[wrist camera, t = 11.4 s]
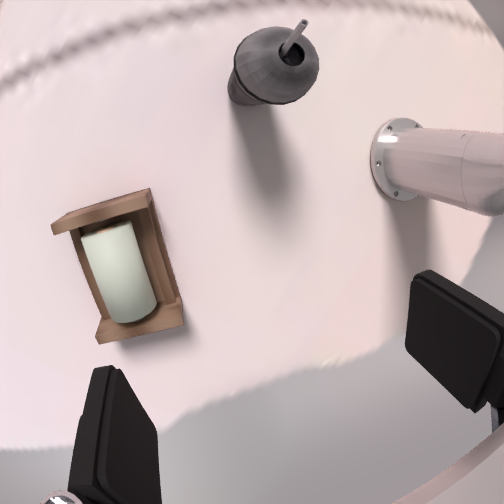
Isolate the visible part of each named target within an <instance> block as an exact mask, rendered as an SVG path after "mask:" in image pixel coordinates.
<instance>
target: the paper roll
mask: <svg viewBox="0 0 504 504" xmlns="http://www.w3.org/2000/svg"><path fill="white" fill-rule="evenodd" d="M81 241H82V244H83V247H84V250H85V253H86V255H87V258H88V261H89V264H90V267H91V269H92V272H93V275H94V277H95V280H96V283H97V285H98V288H99V290H100V293H101V295H102V298H103V300H104V303H105V305H106V307H107V310H108V312H109V314H110V317H111V319H112V320H113V321H114V322H117V323H128V322H132V321H136V320H138V319H141V318H143V317H144V316H146V315H148V314H149V313H150V312H152V311H153V309H154V308H155V307H156V304H157V301H156V298H155V295H154V292H153V289H152V287H151V284H150V281H149V278H148V275H147V272H146V269H145V266H144V263H143V259H142V256H141V253H140V250H139V247H138V243H137V240H136V237H135V233H134V230H133V226H132V223H131V221H130V220H122V221H117V222H113V223H110V224H107V225H104V226H101V227H99V228H96V229H94V230H92V231H90V232H88V233H86V234H85V235H84V236H82V237H81Z"/></svg>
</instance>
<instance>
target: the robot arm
mask: <svg viewBox="0 0 504 504" xmlns="http://www.w3.org/2000/svg"><path fill="white" fill-rule="evenodd" d="M371 168H372V172H373V176H374V178H375V181H376V183H377V184H378V186H379V188H380V189H381V190H382V191H383V192H384V193H385V194H386V195H388V196H389V197H391V198H393V199H396V200H400V201H409V200H412V199H414V198H416V197H418V196H419V195H420V196H424V197H427V198H431V199H434V200H437V201H441V202H444V203H447V204H450V205H454V206H457V207H460V208H463V209H466V210H469V211H472V212H475V213H478V214H481V215H484V216H490V217H495V216H500V215H503V214H504V134H502V133H490V132H479V131H467V130H452V129H430V128H423V127H422V126H421V125H420V124H419V123H417V122H416V121H414V120H412V119H409V118H394V119H391V120H389V121H387V122H386V123H384V124H383V125H382V126H381V127H380V129H379V130H378V132H377V133H376V135H375V138H374V140H373V143H372V148H371ZM405 347H406V350H407V352H408V353H409V354H410V355H411V356H412V357H413V358H414V359H416V360H417V361H418V362H419V363H420V364H421V365H422V366H423V367H424V368H425V369H426V370H427V371H428V372H429V373H430V374H431V375H432V376H433V377H434V378H435V379H436V380H437V381H438V382H439V383H440V384H442V386H444V387H445V388H446V389H447V390H448V391H449V392H450V393H451V394H452V395H453V396H454V397H455V398H456V399H457V400H458V401H459V402H460V403H461V404H462V405H463V406H464V407H465V408H467V409H468V408H470V409H471V410H472V411H473V412H474V413H476V412H477V411H479V410H480V409H481V408H482V407H484V406H485V404H486V402H487V401H488V402H489V403H490V404H491V418H492V434H491V435H490V436H488V437H487V438H486V439H485V440H484V441H482V442H481V443H480V444H479V445H478V446H476V447H475V448H474V449H473V450H471V451H470V452H469V453H468V454H466V455H465V456H464V457H462V458H461V459H460V460H458V461H457V462H456V463H454V464H453V465H452V466H451V467H449V468H448V469H446V470H445V471H443V472H442V473H440V474H439V475H437V476H436V477H435V478H433V479H432V480H430V481H428V482H427V483H425V484H424V485H422V486H420V487H419V488H417V489H416V490H414V491H412V492H411V493H409V494H408V495H405V496H404V497H402V498H400V499H398V500H397V501H395V502H393V503H391V504H504V313H502V312H500V311H499V310H497V309H496V308H494V307H493V306H491V305H489V304H488V303H486V302H485V301H483V300H481V299H480V298H478V297H476V296H475V295H473V294H472V293H470V292H468V291H466V290H465V289H463V288H462V287H460V286H458V285H456V284H455V283H453V282H451V281H450V280H448V279H446V278H444V277H443V276H441V275H439V274H437V273H436V272H434V271H432V270H426V271H423V272H421V273H418V274H416V275H415V276H414V278H413V281H412V282H411V285H410V299H409V311H408V321H407V330H406V338H405ZM40 504H162V499H161V487H160V474H159V458H158V438H157V431H156V428H155V426H154V424H153V422H152V421H151V419H150V418H149V416H148V415H147V413H146V411H145V410H144V408H143V407H142V405H141V403H140V402H139V400H138V398H137V397H136V395H135V393H134V391H133V390H132V388H131V386H130V384H129V383H128V381H127V379H126V377H125V375H124V374H123V372H122V370H121V369H116V368H115V367H114V366H113V365H109V366H104V367H98V368H95V369H94V370H93V372H92V376H91V380H90V384H89V388H88V393H87V397H86V401H85V406H84V410H83V415H82V416H81V417H80V420H79V424H78V429H77V434H76V439H75V445H74V450H73V456H72V462H71V469H70V475H69V483H68V491H61V490H60V491H54V492H52V493H50V494H48V495H46V496H45V497H44V498H43V499H42V501H41V502H40Z"/></svg>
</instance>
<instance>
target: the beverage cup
mask: <svg viewBox="0 0 504 504" xmlns="http://www.w3.org/2000/svg"><path fill="white" fill-rule="evenodd" d="M307 25H308V21H307V20H305V19H303V20H301V21H300V23H299V24H298V25H297V27H296V28H295V30H292V29H290V28H286V27H269V28H264V29H261V30H259V31H256V32H254V33H253V34H251V35H249V36H247V37H246V38H245V39H244V40H243V41H242V42H241V43H240V44H239V46H238V47H237V50H236V52H235V55H234V68H233V71H232V73H231V76H230V78H229V81H228V93H229V96H230V97H231V99H232V100H233V101H234V102H236V103H237V104H240V105H243V106H254V105H259V104H265V103H268V104H276V105H284V104H288V103H291V102H295V101H296V100H298V99H299V98H301V97H302V96H304V95H305V94H306V92H308V91H309V89H310V88H311V87H312V85H313V84H314V82H315V81H316V78H317V74H318V71H319V58H318V55H317V53H316V50H315V47H314V46H313V45H312V43H311V42H310V41H309V40H308V39H307V38H306V37H305V36H303V35H302V34H301V33H302V32H303V30H304V29H305V28H306V27H307Z"/></svg>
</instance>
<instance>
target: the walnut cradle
mask: <svg viewBox="0 0 504 504" xmlns="http://www.w3.org/2000/svg"><path fill="white" fill-rule="evenodd" d="M122 220H130V221H131V223H132V226H133V230H134V233H135V237H136V240H137V243H138V247H139V250H140V253H141V256H142V259H143V263H144V266H145V269H146V272H147V275H148V278H149V281H150V284H151V287H152V289H153V292H154V295H155V298H156V301H157V304H156V307H155V308H154V309H153V311H152V312H150V313H149V314H148V315H146V316H144V317H143V318H141V319H138V320H136V321H132V322H128V323H117V322H114V321H113V320H112V319H111V317H110V314H109V312H108V310H107V307H106V305H105V303H104V300H103V298H102V295H101V293H100V290H99V288H98V285H97V283H96V280H95V277H94V275H93V272H92V269H91V267H90V264H89V261H88V258H87V255H86V253H85V250H84V247H83V244H82V241H81V237H82V236H84V235H85V234H86V233H88V232H90V231H92V230H94V229H96V228H99V227H101V226H104V225H107V224H110V223H113V222H117V221H122ZM51 228H52V231H53V234H54V235H57V234H60V233H63V232H66V231H70V234H71V237H72V241H73V244H74V247H75V249H76V252H77V255H78V258H79V261H80V264H81V266H82V269H83V272H84V274H85V277H86V280H87V282H88V285H89V287H90V290H91V292H92V295H93V297H94V299H95V302H96V304H97V307H98V309H99V311H100V314H101V316H102V317H101V320H100V323H99V326H98V329H97V332H96V335H95V338H96V340H97V342H98V344H104V343H108V342H113V341H117V340H122V339H126V338H131V337H135V336H140V335H144V334H148V333H152V332H157V331H161V330H165V329H169V328H173V327H177V326H181V325H184V321H183V309H182V300H181V297H180V294H179V291H178V287H177V284H176V281H175V278H174V274H173V271H172V268H171V264H170V261H169V258H168V254H167V251H166V247H165V244H164V240H163V236H162V233H161V229H160V225H159V222H158V218H157V214H156V210H155V206H154V203H153V199H152V195H151V191H150V188H148V189H145V190H141V191H137V192H134V193H130V194H127V195H123V196H120V197H117V198H113V199H110V200H107V201H103V202H100V203H97V204H94V205H91V206H88V207H84V208H81V209H78V210H75V211H72V212H69V213H67V214H66V215H64V216H63V217H61V218H60V219H58V220H57V221H55V222H54V223H52V224H51Z"/></svg>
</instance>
